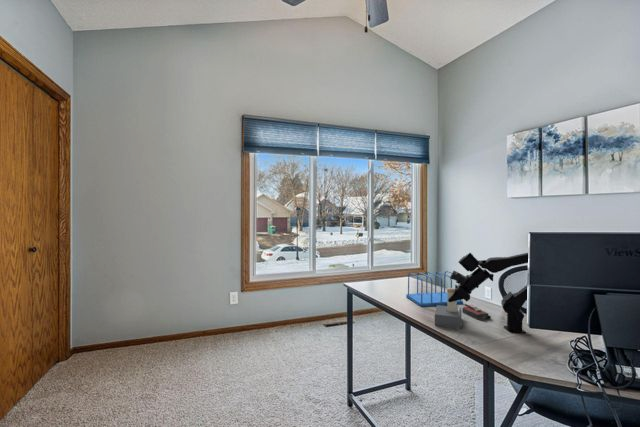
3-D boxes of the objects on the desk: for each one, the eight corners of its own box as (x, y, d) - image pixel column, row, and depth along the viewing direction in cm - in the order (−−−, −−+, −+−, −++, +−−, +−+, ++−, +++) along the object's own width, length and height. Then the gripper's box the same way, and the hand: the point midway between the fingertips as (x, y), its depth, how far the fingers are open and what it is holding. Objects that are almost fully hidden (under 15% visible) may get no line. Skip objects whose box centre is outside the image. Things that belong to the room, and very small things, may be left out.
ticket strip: (456, 317, 149) (457, 288, 149) (456, 317, 148) (457, 289, 147) (447, 315, 151) (447, 287, 150) (447, 316, 149) (447, 288, 149)
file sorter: (420, 307, 171) (420, 278, 171) (405, 297, 188) (406, 271, 188) (463, 304, 176) (463, 276, 175) (445, 295, 193) (445, 269, 192)
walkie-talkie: (495, 320, 153) (466, 306, 172) (495, 310, 153) (466, 298, 172) (479, 321, 151) (452, 308, 170) (479, 312, 151) (452, 299, 170)
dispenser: (461, 318, 154) (461, 306, 154) (461, 328, 141) (461, 315, 141) (436, 315, 159) (436, 303, 158) (434, 325, 146) (434, 312, 145)
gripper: (461, 262, 155) (437, 282, 160) (461, 269, 138) (434, 292, 143) (479, 279, 153) (454, 300, 157) (482, 289, 135) (453, 312, 140)
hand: (448, 300), depth 150 cm, fingers closed on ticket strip
